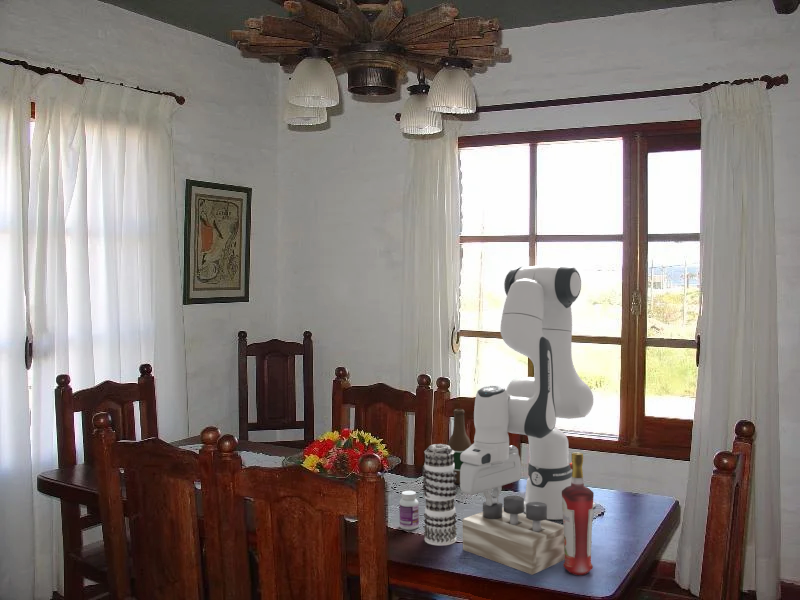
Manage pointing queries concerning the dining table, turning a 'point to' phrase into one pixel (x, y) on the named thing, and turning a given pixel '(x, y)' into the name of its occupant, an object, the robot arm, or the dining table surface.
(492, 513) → the knob
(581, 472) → the liquor
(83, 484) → the dining table surface
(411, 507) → the pill bottle
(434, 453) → the decorative candle
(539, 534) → the console
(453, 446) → the beer bottle
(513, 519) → the knob
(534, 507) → the knob
